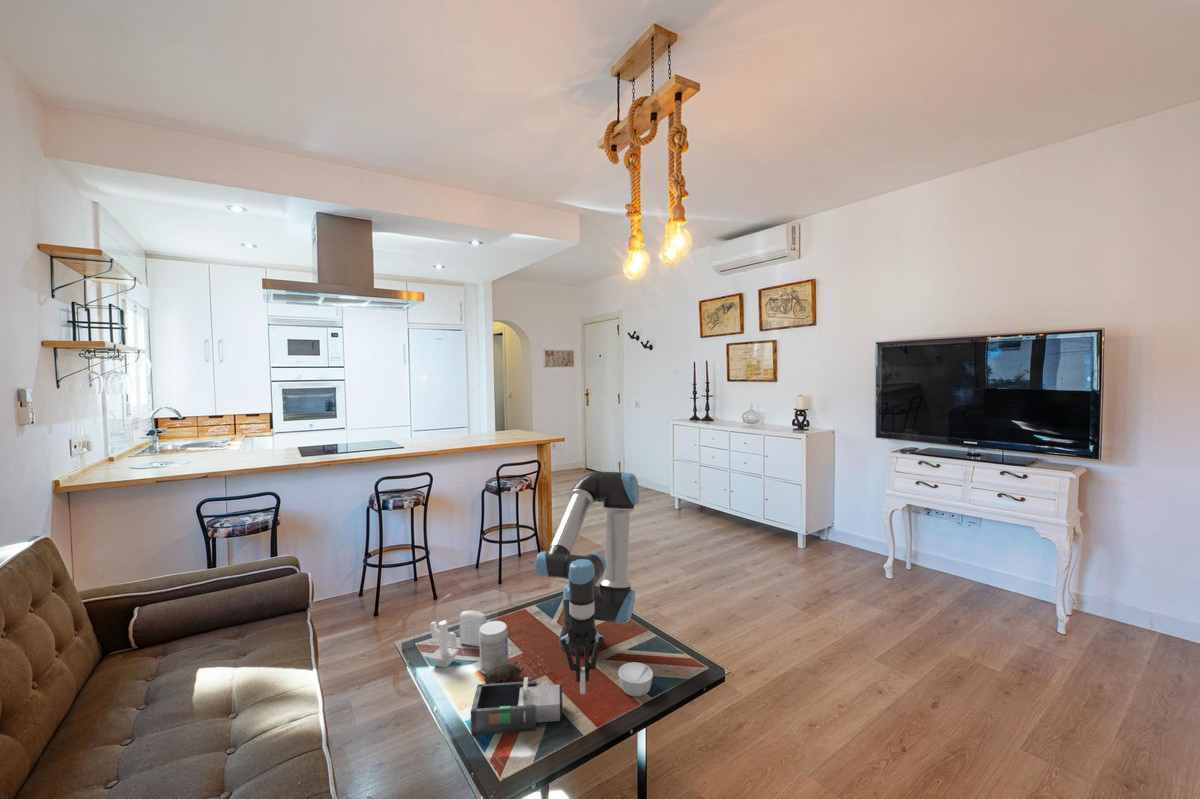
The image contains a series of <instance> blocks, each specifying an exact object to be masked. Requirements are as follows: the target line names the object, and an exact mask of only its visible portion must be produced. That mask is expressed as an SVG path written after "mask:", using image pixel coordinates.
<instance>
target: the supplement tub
mask: <svg viewBox="0 0 1200 799" xmlns="http://www.w3.org/2000/svg"><path fill="white" fill-rule="evenodd" d="M508 640H509V639H508V625H507V624H506V623H505V622H504V621H500V620H492V621H488V622H486V623H485V624H483V625H482V626H481V627H480V629H479V645H480V646H479V661H480V662H479V665H480V666H479V668H480V672H481V673H482V674H483V675H485V673H486V671H487V670H488V669H490V668H498V667H501V666H504V665H506V664H509V641H508Z"/></svg>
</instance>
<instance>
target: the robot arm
mask: <svg viewBox="0 0 1200 799" xmlns="http://www.w3.org/2000/svg"><path fill="white" fill-rule="evenodd" d="M639 498H640V488H639V482H638V478H637V477H636V475H635V474H634V473H633V472H632V473H630V472H624V471H621V472H619V471H618V472H617V471H602V470H601V471H600V470H596V471H592V472H589V473H587V474H586V475H584V476H583V477H581V478H580V479H579V480H578V481H577V482H576V483H575V484H574V485H573V487H572V488H571V490H570V492H569V495H568V499H569V502H568V504H567V507H566V508H565V511H564V513H563V515H562V517H561V520H560V522H559V525H558V527H557V528H556V529H557V530H556V531H555V534H554V536H553V539H552V540H551V543H550V546H549V548H548V550H547V551H545V550H544V551H540V552H538V553H537V555H536V558H535V562H534V569H535V572H536V574H537V575H539V576H542V577H545V578H546V577H547V578H556V579H565V580H568V583H566V584H565V585H564V587H563V590H562V592H563V594H562V595H563V596H562V606H563V609H562V610H563V614H562V615H563V623H562V628H561V631H560V634H559V636H558V637H559V638H558V641H559V647H560V649H562V650H563V651H564V652H565V654H566V658H567V662H568V666H569V670H570V671H571V672H572V671H574V672H575V681H576V683H579V694H580V695H586V682H590V681H589V680H590V671H591V670H595V669H596V664H597V661H598V657H599V653H600V652H599V651H600V647H601V645H602V644H603V642H604V634H603V633H599V631H598V628H597V625H596V622H595V621H602V622H609V623H615V624H627V623H629V622H630V620H631V617H632V614H633V612H634V607H635V602H636V591H635V590H634V589H631V588H632V584H631V582H630V581H629V580H628V565H629V564H628V563H629V543H630V542H629V541H630V540H629V538H630V516H631V513H632V512H633V511H634V509H635V506H636V505H638V504H639V501H640V499H639ZM597 502H598V503H603V509H604V510H605V511H606V526H605V527H606V529H605V533H606V534H605V551H604V556H603V555H602V554H601V553H598V552H591V553H588V554H587V555H581V554H580V555H578V554H572V551H573V550H574V547H575V544H576V541H577V539H578V536H579V534H580V531H581V528H582V526H583V523H584V521H585V519H586V515H587V513H588V511H589V509H591V508H592V507H593V505H594V503H597ZM602 577H603V579H601V578H602ZM600 579H601V581H599V580H600ZM598 582H599V585H597V583H598ZM590 652H592V655H591V657H590ZM581 654H583V655H584V656H583V657H584V666H583V667H582V666H581ZM573 655H575V662H574V659H573ZM590 658H591V659H590Z"/></svg>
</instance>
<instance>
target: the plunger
mask: <svg viewBox="0 0 1200 799" xmlns="http://www.w3.org/2000/svg"><path fill="white" fill-rule="evenodd" d="M528 681H529V676H524V677H523V682H524V684H523V687H520V693H519V701H518V706H524V705H535V720H536V723H546V722H547V723H548V722H560V721H561V720H563V718H564V714H563V712H564V711H563V709H564V708H563V685H560V684H547V685H537V686H528Z"/></svg>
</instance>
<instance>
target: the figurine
mask: <svg viewBox="0 0 1200 799" xmlns="http://www.w3.org/2000/svg"><path fill="white" fill-rule="evenodd" d="M437 624H438V627H437ZM430 635H431V636H430V637H432V639H438V640H439V647H438V649H436V651H435V652H433V653H432V654H431V655H430V656H429V657H428V658H429V659H430V661H431V662H432V664H433V665H434V666H435V667H440V668H444V669H446V668H448V667H449V666H451V664H452V663H453V662H454V660H455V658H456V656H457V654H458V652H459V649H460V648H457V634H456V633H455V632H453V631H449V625H448V620H446V619H444V620H443V619H442V620H441V621H439V623H437V621H432V622H431V623H430ZM449 643H450V647H449Z"/></svg>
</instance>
